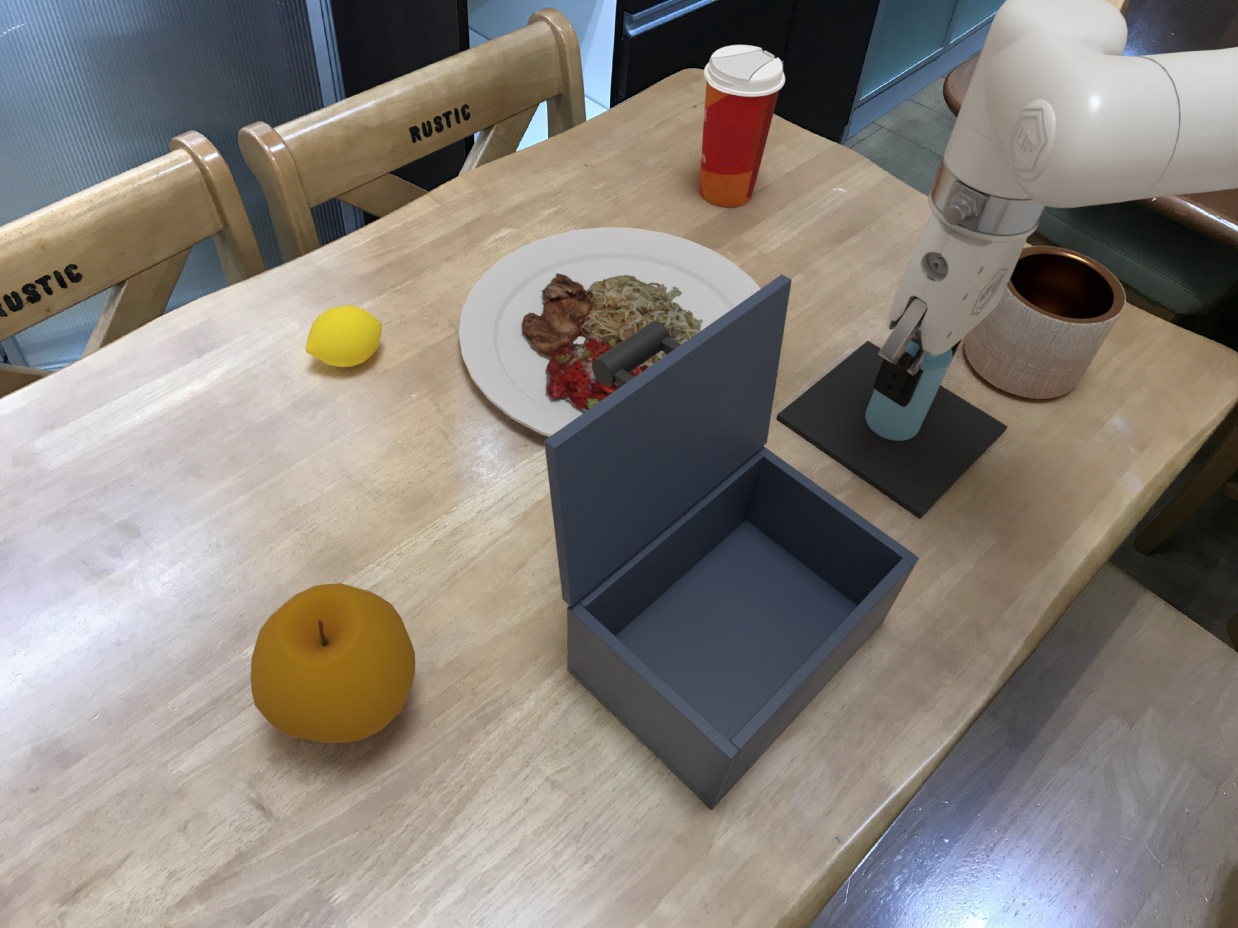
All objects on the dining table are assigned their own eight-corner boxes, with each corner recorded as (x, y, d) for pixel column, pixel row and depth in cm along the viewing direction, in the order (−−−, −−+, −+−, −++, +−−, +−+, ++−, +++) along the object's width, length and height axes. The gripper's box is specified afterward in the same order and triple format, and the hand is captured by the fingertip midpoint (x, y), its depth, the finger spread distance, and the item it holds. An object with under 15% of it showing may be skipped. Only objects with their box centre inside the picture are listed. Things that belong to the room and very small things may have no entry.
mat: (1005, 430, 79) (1007, 426, 78) (919, 519, 72) (922, 514, 72) (866, 344, 85) (867, 340, 85) (776, 418, 78) (777, 414, 78)
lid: (792, 279, 54) (728, 246, 56) (554, 448, 45) (490, 401, 47) (767, 443, 64) (714, 410, 67) (570, 607, 55) (518, 561, 58)
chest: (883, 621, 66) (919, 557, 59) (711, 810, 57) (731, 759, 50) (743, 514, 72) (761, 444, 65) (566, 669, 63) (566, 607, 56)
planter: (1055, 421, 80) (1104, 343, 72) (943, 367, 84) (979, 287, 76) (1094, 356, 85) (1144, 278, 78) (987, 308, 89) (1025, 229, 82)
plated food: (742, 237, 95) (747, 210, 92) (813, 451, 76) (822, 425, 74) (459, 247, 92) (456, 220, 89) (461, 473, 73) (457, 447, 70)
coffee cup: (726, 163, 104) (746, 34, 92) (777, 196, 100) (804, 67, 88) (673, 187, 100) (687, 57, 88) (723, 223, 96) (745, 91, 85)
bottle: (930, 421, 78) (972, 332, 70) (900, 449, 76) (940, 361, 68) (885, 392, 80) (921, 302, 72) (854, 419, 78) (888, 329, 70)
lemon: (375, 328, 84) (365, 283, 79) (397, 364, 81) (388, 319, 76) (302, 353, 81) (288, 308, 77) (322, 390, 78) (309, 346, 74)
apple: (278, 790, 56) (222, 716, 47) (278, 654, 62) (228, 565, 53) (433, 757, 58) (407, 679, 49) (419, 628, 64) (393, 537, 55)
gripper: (974, 271, 54) (890, 458, 69) (1098, 167, 63) (1001, 353, 77) (873, 217, 58) (813, 406, 72) (1003, 124, 66) (926, 310, 80)
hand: (910, 377), depth 74 cm, fingers open, 5 cm apart
